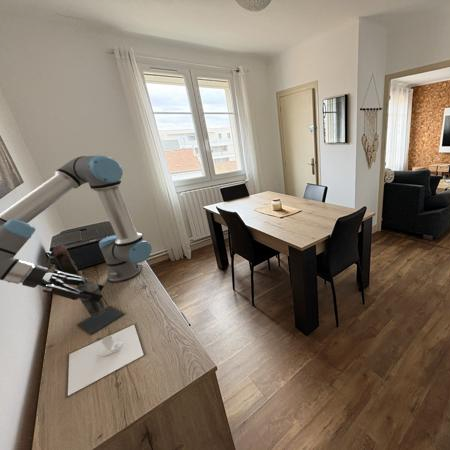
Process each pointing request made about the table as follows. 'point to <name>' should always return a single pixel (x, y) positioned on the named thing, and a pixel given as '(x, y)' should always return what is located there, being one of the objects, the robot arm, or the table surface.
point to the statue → (65, 261)
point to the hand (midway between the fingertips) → (101, 293)
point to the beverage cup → (91, 306)
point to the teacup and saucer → (102, 358)
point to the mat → (100, 320)
